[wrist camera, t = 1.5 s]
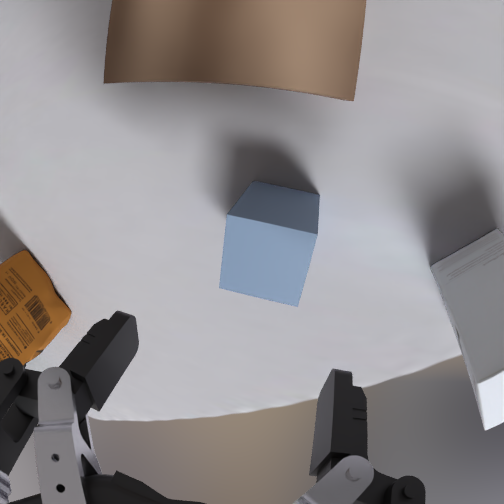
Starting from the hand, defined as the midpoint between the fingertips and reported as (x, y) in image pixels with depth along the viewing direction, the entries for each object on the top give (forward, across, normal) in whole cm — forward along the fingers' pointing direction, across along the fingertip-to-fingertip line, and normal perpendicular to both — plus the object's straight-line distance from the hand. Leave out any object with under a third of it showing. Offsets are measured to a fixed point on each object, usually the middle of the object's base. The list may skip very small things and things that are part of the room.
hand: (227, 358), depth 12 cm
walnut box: (+15, +4, -16) cm, 22 cm away
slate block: (+14, 0, 0) cm, 15 cm away
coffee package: (+15, +30, +17) cm, 37 cm away
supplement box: (+15, -18, +1) cm, 23 cm away
